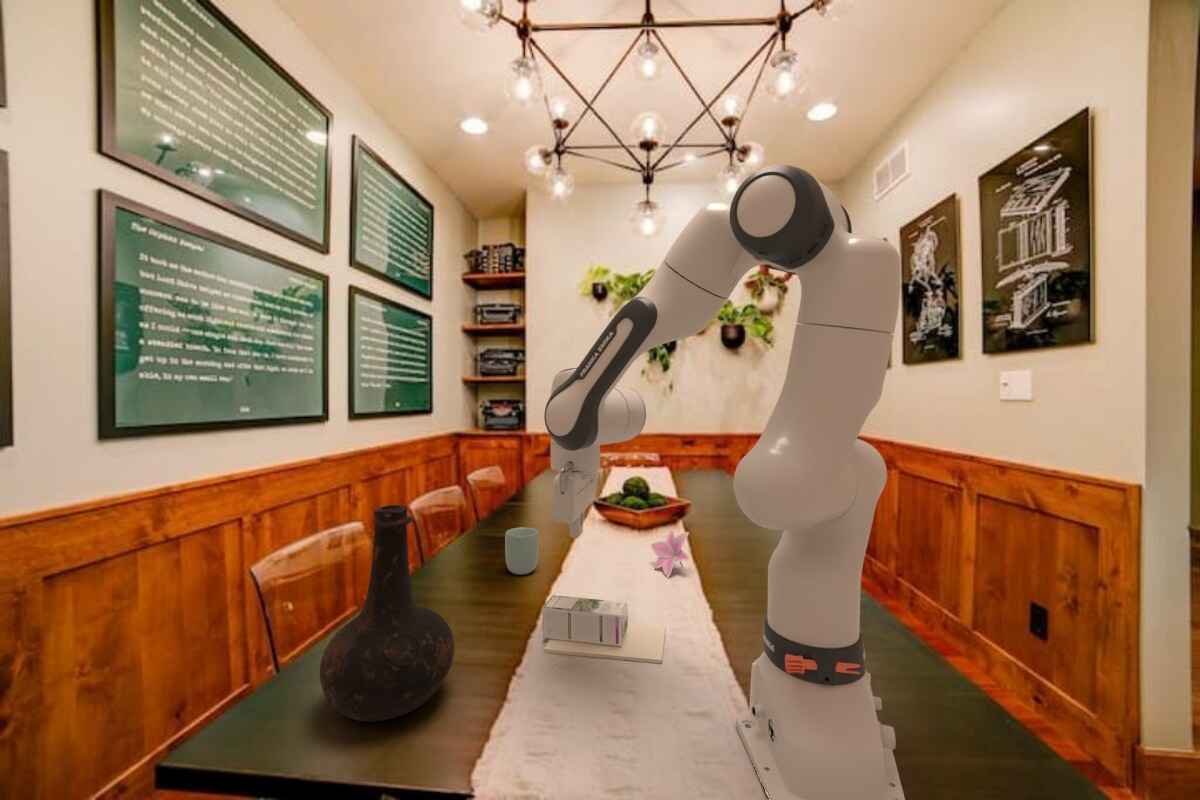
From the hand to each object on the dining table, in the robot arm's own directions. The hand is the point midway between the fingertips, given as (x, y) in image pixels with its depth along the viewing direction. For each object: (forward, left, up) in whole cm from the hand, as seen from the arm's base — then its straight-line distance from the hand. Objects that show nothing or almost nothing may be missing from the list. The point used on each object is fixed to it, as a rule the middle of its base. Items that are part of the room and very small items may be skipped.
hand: (576, 535), depth 92 cm
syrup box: (0, +6, -15) cm, 16 cm away
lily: (+38, -15, -19) cm, 45 cm away
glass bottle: (-23, +22, -19) cm, 37 cm away
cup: (+30, +20, -19) cm, 41 cm away
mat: (0, -6, -19) cm, 19 cm away
